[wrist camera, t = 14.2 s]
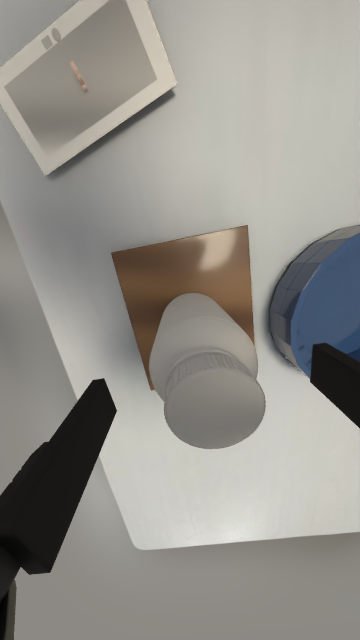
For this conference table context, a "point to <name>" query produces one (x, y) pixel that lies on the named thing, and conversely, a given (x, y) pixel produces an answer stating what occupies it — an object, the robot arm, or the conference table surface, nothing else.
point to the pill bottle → (206, 374)
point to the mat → (185, 280)
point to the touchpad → (84, 77)
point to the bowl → (320, 300)
